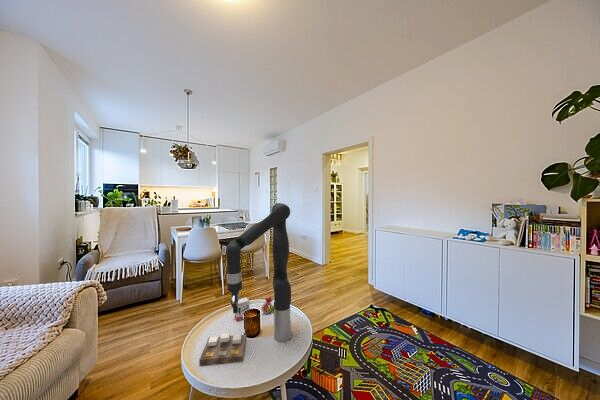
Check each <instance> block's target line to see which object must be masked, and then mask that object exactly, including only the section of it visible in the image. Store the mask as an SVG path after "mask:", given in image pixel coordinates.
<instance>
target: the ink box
mask: <svg viewBox="0 0 600 400" xmlns="http://www.w3.org/2000/svg"><path fill="white" fill-rule="evenodd" d="M247 310H250V299H249V297H242V298H239V301H238V313H234V319H235V321H236V322H241V321H243V320H244V319H243V315H244V312H245V311H247Z"/></svg>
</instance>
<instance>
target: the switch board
mask: <svg viewBox="0 0 600 400" xmlns="http://www.w3.org/2000/svg"><path fill="white" fill-rule="evenodd" d="M240 335H241V337H242V338H241V343H237V344H233V342H232V340H233V336H234V335H230V338H229V341H228V342H220V338H221V336H217V337H218V342H217V345H216V346H208V342H209V339H210V337H208V338H207V340H206V343H205V345H204V348H203V350H202V353H201V355H200V357H199V360H198V363H199V367H202V366H203V367H205V366H211V365H212V366H215V365H223V364H225V365H226V364H232V363H243V361H244V357H245V356H244V355H245V349H246V343H247V334H240Z"/></svg>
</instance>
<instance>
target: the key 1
mask: <svg viewBox="0 0 600 400" xmlns="http://www.w3.org/2000/svg"><path fill="white" fill-rule="evenodd" d="M218 337H219V336H210V337H209V338H210V339H209V342H208V346H216V345H217V342H218Z"/></svg>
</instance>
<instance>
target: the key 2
mask: <svg viewBox="0 0 600 400" xmlns="http://www.w3.org/2000/svg"><path fill="white" fill-rule="evenodd" d="M241 335H242V334H233V335H232V336H233V340H232V342H233V344H237V343H241V338H242V337H241Z"/></svg>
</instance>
